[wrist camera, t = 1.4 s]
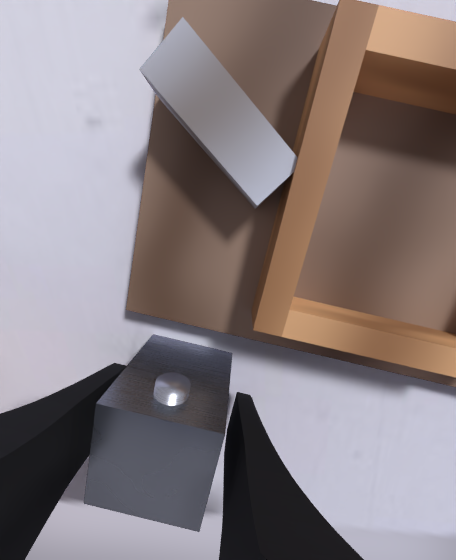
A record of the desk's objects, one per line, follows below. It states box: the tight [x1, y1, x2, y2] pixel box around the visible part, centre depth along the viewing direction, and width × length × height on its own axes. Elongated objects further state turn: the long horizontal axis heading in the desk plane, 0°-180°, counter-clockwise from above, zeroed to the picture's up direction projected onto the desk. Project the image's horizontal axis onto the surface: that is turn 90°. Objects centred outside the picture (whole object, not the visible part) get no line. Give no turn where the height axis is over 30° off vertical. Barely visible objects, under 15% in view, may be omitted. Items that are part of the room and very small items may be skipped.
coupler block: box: [84, 334, 232, 532], centre depth 11 cm, size 4×5×5 cm
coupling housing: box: [126, 0, 456, 387], centre depth 9 cm, size 20×12×3 cm, turn 78°
